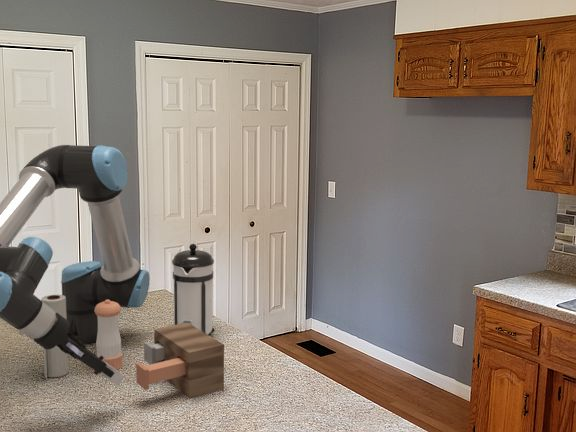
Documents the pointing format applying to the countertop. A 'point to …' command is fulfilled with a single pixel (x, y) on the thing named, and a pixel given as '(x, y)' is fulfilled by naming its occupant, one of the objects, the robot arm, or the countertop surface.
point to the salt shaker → (109, 333)
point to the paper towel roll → (55, 357)
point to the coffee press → (193, 288)
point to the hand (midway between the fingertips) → (119, 380)
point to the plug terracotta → (159, 371)
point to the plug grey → (153, 352)
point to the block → (193, 358)
